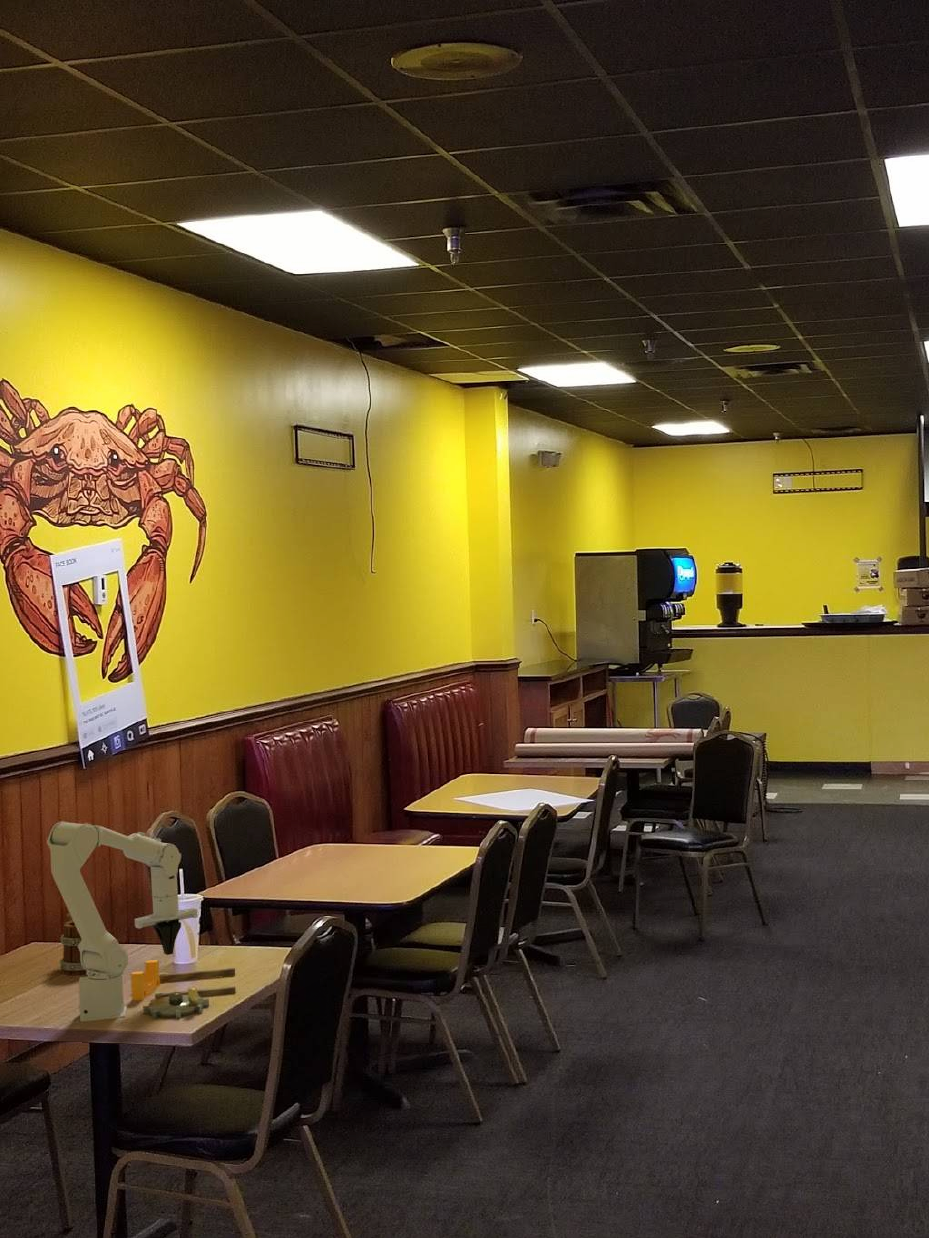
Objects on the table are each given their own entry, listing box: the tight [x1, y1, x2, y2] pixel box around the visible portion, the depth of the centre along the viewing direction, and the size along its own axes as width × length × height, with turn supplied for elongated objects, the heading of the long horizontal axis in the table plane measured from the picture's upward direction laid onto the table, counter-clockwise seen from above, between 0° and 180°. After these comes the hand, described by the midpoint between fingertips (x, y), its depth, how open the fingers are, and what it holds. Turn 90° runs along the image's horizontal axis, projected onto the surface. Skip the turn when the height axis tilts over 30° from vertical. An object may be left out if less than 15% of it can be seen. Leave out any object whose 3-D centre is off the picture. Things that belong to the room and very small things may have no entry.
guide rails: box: [154, 967, 237, 999], centre depth 336 cm, size 18×18×2 cm
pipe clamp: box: [130, 959, 161, 1001], centre depth 333 cm, size 12×4×6 cm, turn 174°
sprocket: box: [142, 987, 210, 1020], centre depth 318 cm, size 14×14×5 cm
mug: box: [59, 912, 87, 976], centre depth 360 cm, size 12×14×15 cm
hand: (168, 953), depth 331 cm, fingers closed
